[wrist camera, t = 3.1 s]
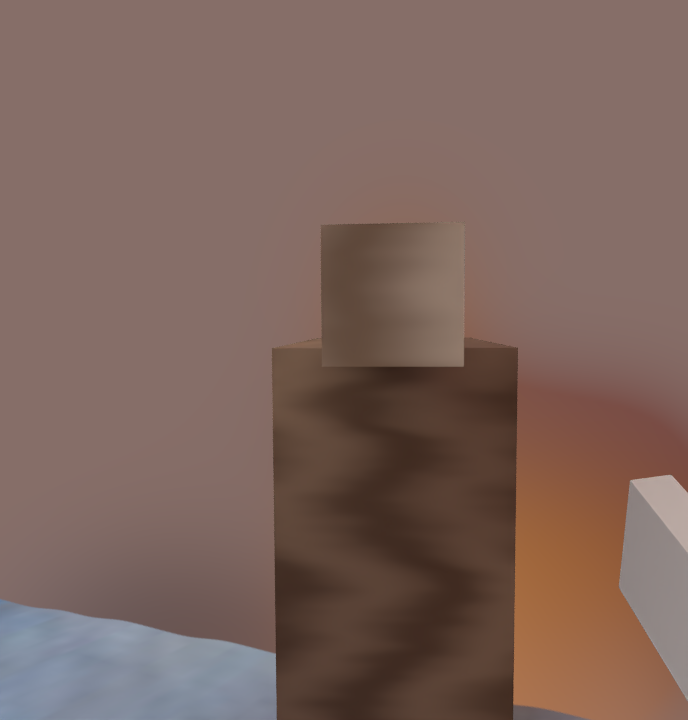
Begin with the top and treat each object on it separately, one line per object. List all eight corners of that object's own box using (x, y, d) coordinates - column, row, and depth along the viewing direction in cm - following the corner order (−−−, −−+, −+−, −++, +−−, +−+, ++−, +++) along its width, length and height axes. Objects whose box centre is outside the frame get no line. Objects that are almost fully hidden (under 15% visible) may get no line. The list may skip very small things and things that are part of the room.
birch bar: (249, 366, 15) (246, 225, 14) (338, 338, 38) (338, 285, 38) (541, 366, 14) (543, 220, 14) (448, 338, 38) (448, 284, 38)
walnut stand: (281, 1017, 27) (271, 348, 25) (321, 767, 41) (317, 338, 40) (508, 1038, 26) (517, 347, 24) (466, 775, 41) (469, 337, 39)
